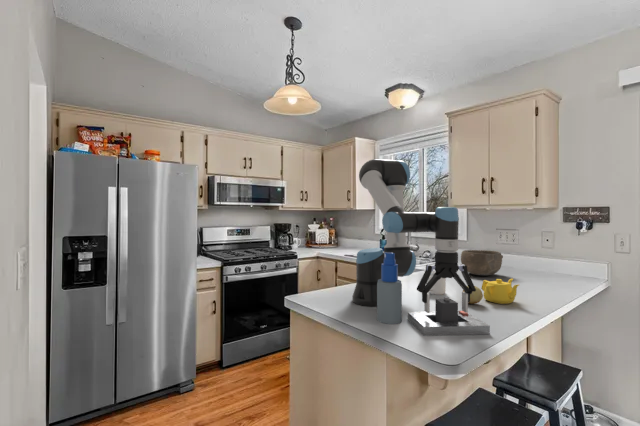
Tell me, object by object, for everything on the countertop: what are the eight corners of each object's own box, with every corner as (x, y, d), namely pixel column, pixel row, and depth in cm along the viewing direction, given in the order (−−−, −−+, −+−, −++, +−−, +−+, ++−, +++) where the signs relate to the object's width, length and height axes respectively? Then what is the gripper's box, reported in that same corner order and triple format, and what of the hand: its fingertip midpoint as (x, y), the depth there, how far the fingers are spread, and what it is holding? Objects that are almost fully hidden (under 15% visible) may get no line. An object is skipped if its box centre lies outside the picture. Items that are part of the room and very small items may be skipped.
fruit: (459, 301, 148) (459, 283, 148) (478, 301, 148) (478, 283, 148) (466, 306, 141) (466, 287, 141) (486, 306, 141) (486, 287, 141)
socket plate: (424, 335, 107) (424, 324, 107) (407, 319, 123) (407, 310, 123) (489, 334, 109) (489, 323, 109) (465, 318, 125) (465, 309, 125)
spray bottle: (380, 324, 118) (380, 254, 118) (374, 316, 127) (374, 251, 127) (405, 323, 119) (405, 253, 119) (397, 315, 128) (397, 250, 128)
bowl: (504, 274, 214) (504, 250, 214) (501, 280, 193) (501, 254, 193) (464, 270, 227) (464, 248, 227) (457, 276, 206) (457, 252, 206)
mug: (433, 297, 156) (434, 275, 156) (419, 293, 163) (419, 272, 163) (449, 293, 163) (449, 272, 163) (434, 290, 170) (434, 269, 170)
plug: (442, 329, 113) (442, 299, 113) (435, 324, 119) (435, 295, 118) (457, 329, 113) (457, 299, 113) (450, 323, 119) (450, 295, 119)
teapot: (520, 307, 140) (520, 283, 140) (484, 304, 145) (485, 281, 144) (512, 298, 153) (513, 277, 153) (480, 296, 158) (480, 275, 157)
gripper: (415, 252, 111) (414, 315, 112) (487, 252, 113) (486, 314, 113) (407, 249, 119) (407, 308, 119) (475, 249, 120) (474, 307, 121)
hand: (445, 311), depth 116 cm, fingers open, 13 cm apart
